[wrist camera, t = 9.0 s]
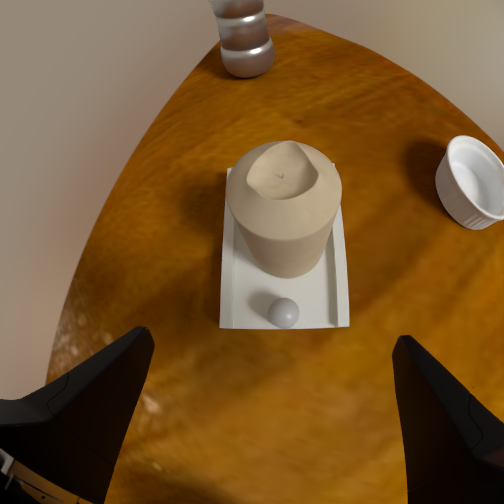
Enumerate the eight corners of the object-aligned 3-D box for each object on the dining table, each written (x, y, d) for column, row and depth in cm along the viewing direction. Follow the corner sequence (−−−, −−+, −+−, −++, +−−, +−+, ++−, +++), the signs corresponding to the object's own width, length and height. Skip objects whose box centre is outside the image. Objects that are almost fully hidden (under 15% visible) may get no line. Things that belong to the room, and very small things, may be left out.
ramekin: (451, 147, 22) (466, 123, 18) (502, 205, 19) (522, 187, 15) (414, 184, 22) (431, 158, 17) (472, 254, 19) (498, 238, 15)
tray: (344, 326, 19) (353, 325, 16) (225, 328, 20) (214, 327, 17) (331, 175, 23) (335, 155, 20) (231, 179, 24) (224, 160, 21)
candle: (267, 202, 22) (249, 112, 12) (333, 224, 20) (358, 140, 11) (239, 263, 20) (195, 202, 11) (308, 291, 19) (324, 248, 10)
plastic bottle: (216, 72, 30) (174, -54, 11) (257, 53, 30) (231, -67, 11) (244, 90, 28) (205, -61, 9) (287, 69, 28) (270, -71, 9)
